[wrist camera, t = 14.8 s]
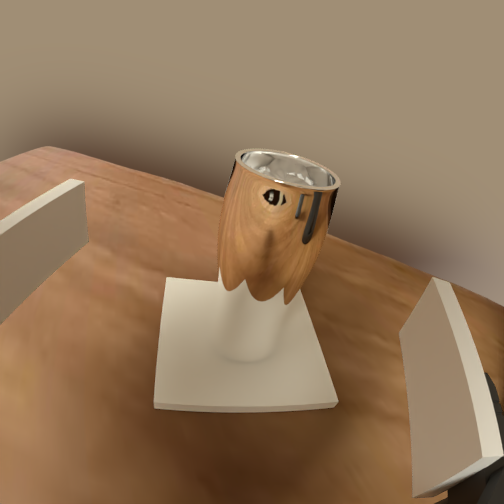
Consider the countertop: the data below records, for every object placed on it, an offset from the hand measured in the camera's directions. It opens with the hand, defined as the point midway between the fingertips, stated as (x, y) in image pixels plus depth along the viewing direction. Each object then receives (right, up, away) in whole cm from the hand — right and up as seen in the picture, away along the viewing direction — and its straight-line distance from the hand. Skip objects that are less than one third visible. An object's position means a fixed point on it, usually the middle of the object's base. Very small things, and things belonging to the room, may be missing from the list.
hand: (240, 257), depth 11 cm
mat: (-1, -8, +16) cm, 18 cm away
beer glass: (-1, -7, +16) cm, 17 cm away
